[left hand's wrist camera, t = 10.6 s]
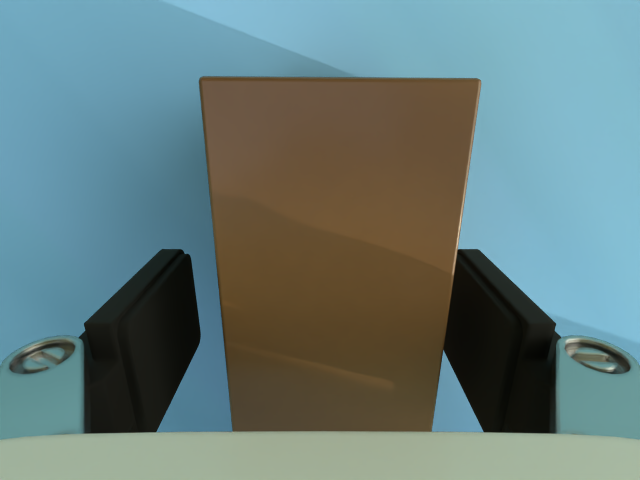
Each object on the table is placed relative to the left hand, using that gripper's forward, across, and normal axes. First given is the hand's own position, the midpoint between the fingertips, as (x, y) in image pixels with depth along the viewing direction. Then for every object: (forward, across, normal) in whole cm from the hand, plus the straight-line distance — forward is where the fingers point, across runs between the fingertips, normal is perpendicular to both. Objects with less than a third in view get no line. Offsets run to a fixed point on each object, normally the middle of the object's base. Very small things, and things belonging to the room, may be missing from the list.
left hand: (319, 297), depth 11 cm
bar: (+5, 0, -33) cm, 33 cm away
